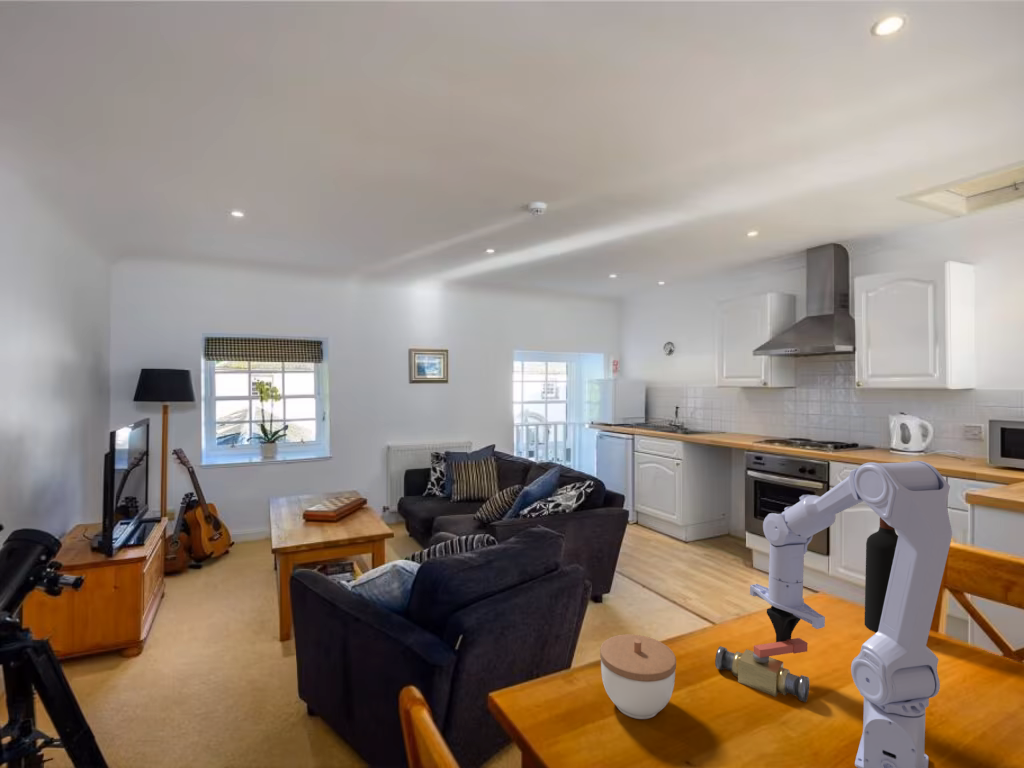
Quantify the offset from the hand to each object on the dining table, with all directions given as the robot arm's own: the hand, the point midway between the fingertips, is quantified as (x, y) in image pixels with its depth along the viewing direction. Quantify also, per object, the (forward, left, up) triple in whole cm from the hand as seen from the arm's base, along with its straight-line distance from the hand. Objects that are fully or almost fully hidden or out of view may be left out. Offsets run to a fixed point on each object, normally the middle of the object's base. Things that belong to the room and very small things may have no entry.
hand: (783, 647), depth 96 cm
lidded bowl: (-27, +16, -5) cm, 32 cm away
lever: (-3, 0, -1) cm, 3 cm away
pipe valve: (-6, +2, -5) cm, 8 cm away
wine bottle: (+35, -13, -5) cm, 38 cm away
